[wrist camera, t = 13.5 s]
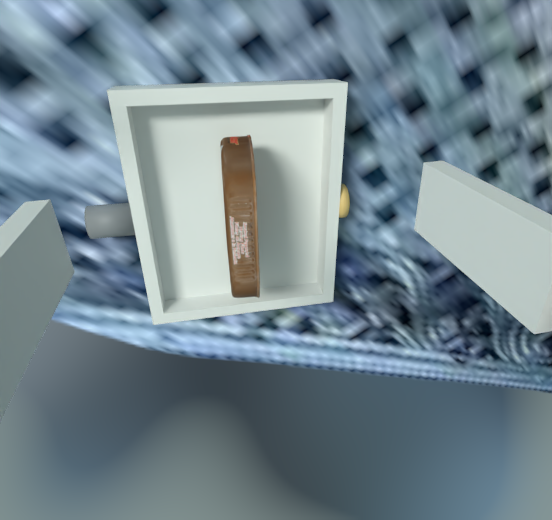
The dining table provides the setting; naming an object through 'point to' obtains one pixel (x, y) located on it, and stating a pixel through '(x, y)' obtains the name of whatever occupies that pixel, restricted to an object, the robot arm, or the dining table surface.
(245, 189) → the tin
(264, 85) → the white square dish
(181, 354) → the dining table surface
